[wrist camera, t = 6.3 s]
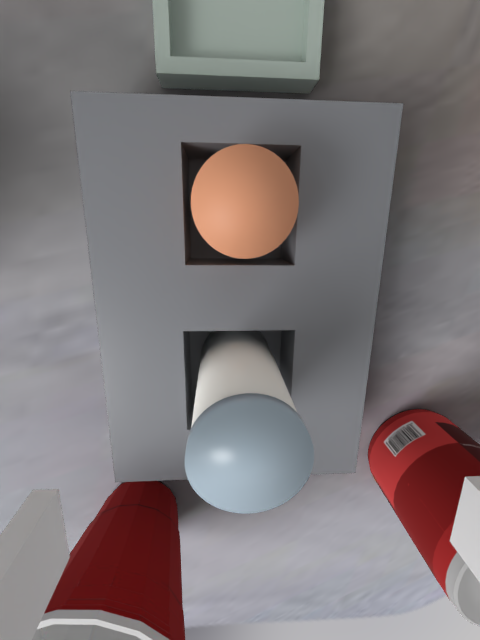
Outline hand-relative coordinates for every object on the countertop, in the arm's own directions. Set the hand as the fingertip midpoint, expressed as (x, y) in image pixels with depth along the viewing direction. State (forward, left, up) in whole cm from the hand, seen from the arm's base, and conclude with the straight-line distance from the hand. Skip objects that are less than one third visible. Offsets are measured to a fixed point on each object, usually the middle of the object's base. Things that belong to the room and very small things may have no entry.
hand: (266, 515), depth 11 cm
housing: (0, +4, -15) cm, 15 cm away
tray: (0, +21, -15) cm, 26 cm away
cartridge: (0, 0, -14) cm, 14 cm away
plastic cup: (-8, -14, -15) cm, 22 cm away
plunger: (0, +10, -13) cm, 16 cm away
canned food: (+15, -9, -15) cm, 23 cm away
